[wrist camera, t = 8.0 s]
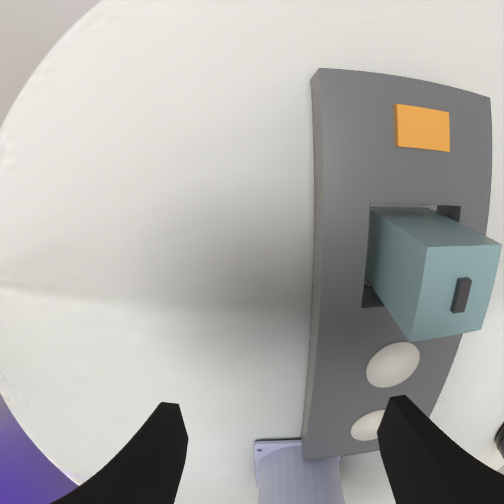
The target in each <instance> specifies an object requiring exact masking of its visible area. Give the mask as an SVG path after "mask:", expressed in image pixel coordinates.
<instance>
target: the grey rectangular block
mask: <svg viewBox="0 0 504 504" xmlns="http://www.w3.org/2000/svg"><path fill="white" fill-rule="evenodd" d="M501 247H502V244H500V243H498V242H496V241H494V240H492V239H490V238H488V237H487V236H485V235H483V234H481V233H479V232H477V231H475V230H473V229H471V228H469V227H467V226H465V225H463V224H461V223H459V222H457V221H455V220H452V219H450V218H448V217H446V216H444V215H442V214H440V213H437V212H435V211H433V210H431V209H429V208H400V207H370V211H369V230H368V245H367V257H366V268H365V278H366V280H367V281H368V282H369V284H370V285H371V287H372V288H373V289H374V291H375V292H376V294H377V295H378V297H379V298H380V300H381V301H382V302H383V304H384V305H385V307H386V308H387V310H388V311H389V313H390V314H391V316H392V317H393V319H394V320H395V322H396V323H397V325H398V326H399V328H400V329H401V331H402V332H403V334H404V335H405V337H406V338H407V340H408V341H409V342H415V341H421V340H428V339H434V338H440V337H445V336H451V335H456V334H461V333H466V332H471V331H476V330H481V327H482V324H483V321H484V318H485V314H486V311H487V307H488V304H489V300H490V297H491V293H492V289H493V285H494V281H495V276H496V272H497V267H498V263H499V258H500V252H501Z"/></svg>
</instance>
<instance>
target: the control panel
mask: <svg viewBox="0 0 504 504" xmlns="http://www.w3.org/2000/svg"><path fill="white" fill-rule="evenodd" d="M311 93H312V113H313V139H314V264H313V292H312V313H311V330H310V345H309V359H308V371H307V383H306V394H305V404H304V414H303V423H302V432H301V444H302V454H303V460H311V459H322V458H331V457H339V456H347V455H354V454H360V453H366V452H372V451H377V450H380V448H379V443H378V437H377V430H378V428H379V425H380V422H381V420H382V417H383V415H384V412H385V409H386V407H387V404H388V401H389V398H390V397H393V396H399V395H406V396H407V397H408V398H409V399H410V400H411V401H412V402H413V403H414V404H415V405H416V406H417V407H418V408H419V409H420V410H421V411H422V412H423V413H424V414H425V415H426V416H427V417H428V418H429V417H430V415H431V412H432V410H433V408H434V406H435V404H436V402H437V399H438V397H439V395H440V393H441V390H442V388H443V386H444V383H445V381H446V378H447V376H448V373H449V371H450V368H451V366H452V363H453V360H454V358H455V355H456V352H457V349H458V346H459V343H460V340H461V337H462V334H463V333H461V334H456V335H451V336H445V337H440V338H434V339H428V340H421V341H415V342H409V341H408V340H407V338H406V337H405V335H404V334H403V332H402V331H401V329H400V328H399V326H398V325H397V323H396V322H395V320H394V319H393V317H392V316H391V314H390V313H389V311H388V310H387V308H386V307H385V305H384V304H383V302H382V301H381V300H380V298H379V297H378V295H377V294H376V292H375V291H374V289H373V288H372V287H364V278H365V268H366V257H367V245H368V230H369V211H370V203H377V204H424V205H438V210H437V213H440V214H442V215H444V216H446V217H448V218H450V219H452V220H455V221H457V222H459V223H461V224H463V225H465V226H467V227H469V228H471V229H473V230H475V231H477V232H479V233H481V234H483V235H485V236H486V229H487V222H488V213H489V204H490V192H491V176H492V119H491V104H490V98H489V97H486V96H483V95H479V94H476V93H473V92H469V91H465V90H462V89H458V88H454V87H450V86H446V85H441V84H437V83H432V82H428V81H423V80H418V79H412V78H407V77H401V76H395V75H388V74H381V73H373V72H364V71H354V70H343V69H328V68H319V69H318V70H317V71H316V73H315V74H314V76H313V77H312V78H311Z"/></svg>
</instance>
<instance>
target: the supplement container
mask: <svg viewBox="0 0 504 504" xmlns="http://www.w3.org/2000/svg"><path fill="white" fill-rule="evenodd" d="M496 447H497V449H498V450H499V451H500V453H501V455H502V457H503V459H504V425H503V426H502V428H501V430H500V431H499V433H498V435H497V438H496Z"/></svg>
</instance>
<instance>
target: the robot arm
mask: <svg viewBox="0 0 504 504" xmlns="http://www.w3.org/2000/svg"><path fill="white" fill-rule="evenodd" d="M377 437H378V443H379V448H380V453H381V457H382V460H383V464H384V467H385V470H386V473H387V476H388V479H389V482H390V485H391V489H392V492H393V495H394V498H395V501H396V504H504V475H503V474H501V473H499V472H497V471H495V470H493V469H492V468H490V467H488V466H487V465H485V464H483V463H482V462H480V461H479V460H477V459H476V458H474V457H473V456H471V455H470V454H469V453H467V452H466V451H465V450H464V449H462V448H461V447H460V446H459V445H457V444H456V443H455V442H454V441H453V440H452V439H450V438H449V437H448V436H447V435H446V434H445V433H444V432H443V431H442V430H441V429H439V428H438V427H437V426H436V425H435V424H434V423H433V422H432V421H431V420H430V419H429V418H428V417H427V416H426V415H425V414H424V413H423V412H422V411H421V410H420V409H419V408H418V407H417V406H416V405H415V404H414V403H413V402H412V401H411V400H410V399H409V398H408V397H407V396H406V395H399V396H393V397H390V398H389V401H388V404H387V407H386V409H385V412H384V415H383V417H382V420H381V422H380V425H379V428H378V430H377ZM187 445H188V435H187V432H186V428H185V425H184V421H183V418H182V414H181V411H180V407H179V404H176V403H166V402H161V403H160V404H159V405H158V406H157V408H156V409H155V410H154V412H153V413H152V414H151V416H150V417H149V418H148V419H147V421H146V422H145V423H144V424H143V426H142V427H141V428H140V429H139V430H138V432H137V433H136V434H135V435H134V436H133V437H132V439H131V440H130V441H129V442H128V443H127V444H126V445H125V446H124V447H123V449H122V450H121V451H120V452H119V453H118V454H117V455H116V456H115V457H114V458H113V459H112V460H111V461H110V462H109V463H107V464H106V465H105V466H104V467H103V468H102V469H101V470H100V471H98V472H97V473H96V474H95V475H94V476H92V477H91V478H90V479H89V480H87V481H86V482H85V483H83V484H82V485H80V486H79V487H77V488H76V489H75V490H73V491H71V492H70V493H68V494H67V495H65V496H63V497H61V498H60V499H58V500H56V501H54V502H52V503H50V504H174V501H175V497H176V494H177V490H178V486H179V483H180V479H181V476H182V472H183V468H184V465H185V459H186V453H187ZM341 457H342V456H339V457H331V458H322V459H311V460H303V454H302V444H301V440H281V441H257V442H255V443H254V459H255V472H256V484H257V488H258V489H259V499H258V504H345V501H344V495H343V490H342V484H341V478H340V473H339V467H338V466H339V463H340V460H341Z"/></svg>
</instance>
